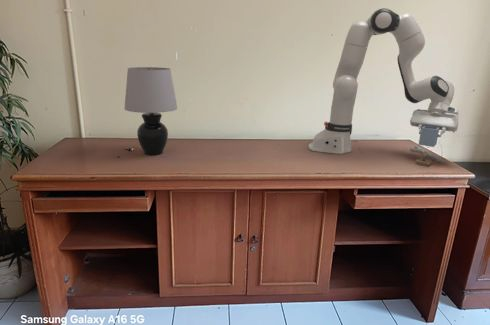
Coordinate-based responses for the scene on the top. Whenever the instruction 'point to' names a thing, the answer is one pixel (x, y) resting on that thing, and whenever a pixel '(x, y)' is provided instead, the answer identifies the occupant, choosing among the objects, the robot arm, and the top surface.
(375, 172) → the top surface
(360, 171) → the top surface
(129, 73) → the lamp
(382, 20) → the robot arm
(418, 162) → the post stand
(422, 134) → the collar
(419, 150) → the adjustable wrench
